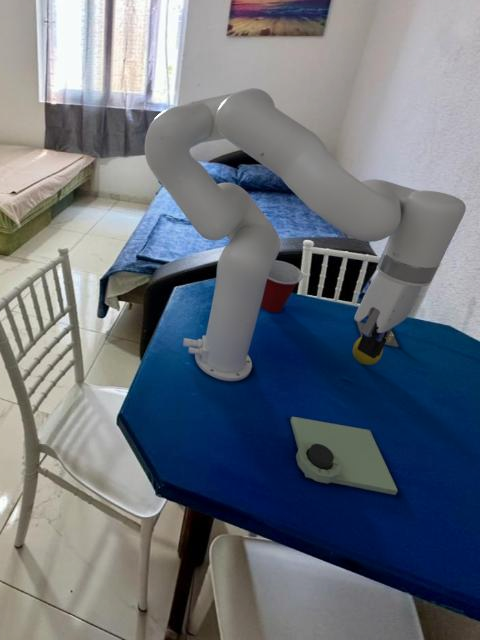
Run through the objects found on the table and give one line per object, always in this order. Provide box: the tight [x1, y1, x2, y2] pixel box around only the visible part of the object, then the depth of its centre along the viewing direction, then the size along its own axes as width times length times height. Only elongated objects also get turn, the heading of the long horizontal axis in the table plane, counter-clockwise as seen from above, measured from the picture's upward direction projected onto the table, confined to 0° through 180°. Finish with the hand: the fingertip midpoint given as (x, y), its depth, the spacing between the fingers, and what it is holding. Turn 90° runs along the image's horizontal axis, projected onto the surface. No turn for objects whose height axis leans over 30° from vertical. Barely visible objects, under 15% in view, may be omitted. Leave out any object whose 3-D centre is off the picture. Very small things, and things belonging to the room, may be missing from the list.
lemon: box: [352, 336, 384, 366], centre depth 92 cm, size 6×6×8 cm
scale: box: [290, 416, 398, 496], centre depth 72 cm, size 15×13×3 cm
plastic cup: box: [260, 259, 304, 313], centre depth 111 cm, size 11×11×12 cm
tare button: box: [308, 444, 334, 469], centre depth 69 cm, size 4×4×2 cm
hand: (367, 352), depth 75 cm, fingers closed
